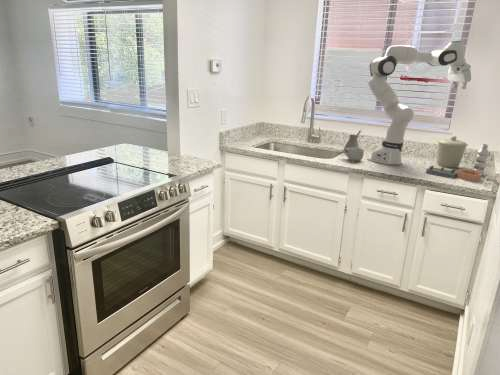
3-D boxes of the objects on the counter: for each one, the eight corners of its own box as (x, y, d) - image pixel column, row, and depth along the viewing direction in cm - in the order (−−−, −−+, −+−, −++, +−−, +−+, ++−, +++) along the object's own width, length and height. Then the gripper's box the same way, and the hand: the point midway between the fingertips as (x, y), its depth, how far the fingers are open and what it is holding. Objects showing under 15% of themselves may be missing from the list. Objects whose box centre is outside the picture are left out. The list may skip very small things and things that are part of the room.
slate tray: (425, 174, 235) (426, 169, 234) (430, 169, 245) (431, 165, 244) (453, 179, 226) (454, 174, 225) (456, 174, 237) (457, 170, 236)
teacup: (365, 160, 260) (367, 149, 258) (358, 163, 253) (359, 151, 250) (347, 156, 269) (348, 145, 267) (339, 159, 261) (341, 147, 259)
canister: (463, 166, 258) (470, 136, 251) (460, 172, 244) (468, 139, 237) (435, 161, 268) (441, 132, 261) (430, 166, 253) (436, 135, 246)
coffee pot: (356, 155, 275) (359, 134, 270) (341, 152, 280) (343, 132, 276) (365, 150, 291) (368, 131, 287) (351, 148, 297) (353, 129, 293)
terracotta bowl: (455, 179, 226) (457, 172, 225) (458, 175, 236) (460, 168, 234) (478, 184, 220) (480, 176, 218) (480, 179, 229) (482, 172, 228)
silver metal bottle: (470, 176, 235) (478, 144, 229) (471, 174, 240) (479, 143, 234) (482, 178, 232) (490, 146, 225) (483, 176, 237) (491, 144, 231)
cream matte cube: (442, 174, 234) (443, 169, 233) (443, 172, 237) (444, 167, 236) (450, 175, 231) (451, 170, 230) (451, 174, 234) (452, 169, 233)
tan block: (431, 172, 237) (432, 167, 236) (433, 170, 240) (434, 166, 239) (439, 173, 234) (440, 168, 233) (440, 172, 238) (441, 167, 237)
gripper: (444, 67, 251) (446, 88, 256) (462, 68, 232) (464, 90, 237) (453, 65, 251) (455, 85, 256) (472, 65, 232) (474, 88, 236)
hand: (459, 88), depth 246 cm, fingers open, 8 cm apart
